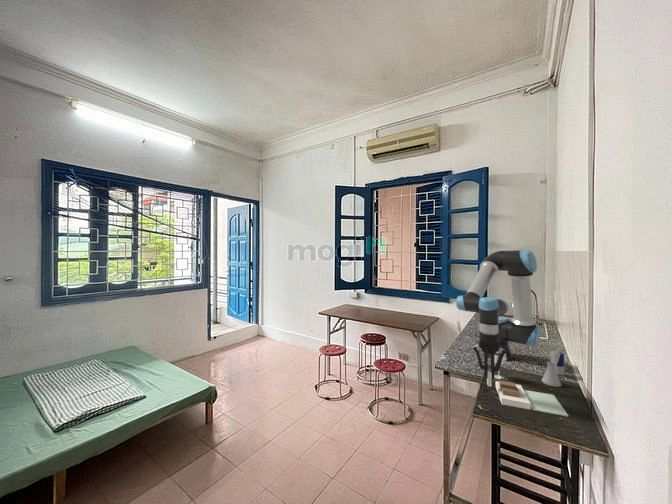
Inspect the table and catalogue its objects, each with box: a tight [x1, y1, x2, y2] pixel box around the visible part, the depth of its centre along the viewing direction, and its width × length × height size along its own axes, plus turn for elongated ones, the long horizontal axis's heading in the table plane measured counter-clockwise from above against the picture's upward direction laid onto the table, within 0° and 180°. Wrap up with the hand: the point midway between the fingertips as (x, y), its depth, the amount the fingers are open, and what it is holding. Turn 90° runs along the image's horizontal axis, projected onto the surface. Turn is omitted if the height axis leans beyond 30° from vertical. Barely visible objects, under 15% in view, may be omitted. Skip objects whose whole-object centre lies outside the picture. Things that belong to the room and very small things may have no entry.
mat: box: [523, 389, 569, 418], centre depth 112 cm, size 16×12×1 cm
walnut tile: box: [498, 380, 520, 398], centre depth 116 cm, size 9×6×2 cm, turn 157°
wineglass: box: [494, 351, 508, 380], centre depth 134 cm, size 7×7×12 cm
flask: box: [541, 361, 563, 388], centre depth 127 cm, size 7×7×10 cm
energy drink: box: [550, 349, 565, 378], centre depth 136 cm, size 5×5×12 cm
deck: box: [495, 380, 532, 410], centre depth 116 cm, size 16×10×2 cm, turn 157°
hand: (489, 385), depth 119 cm, fingers closed
